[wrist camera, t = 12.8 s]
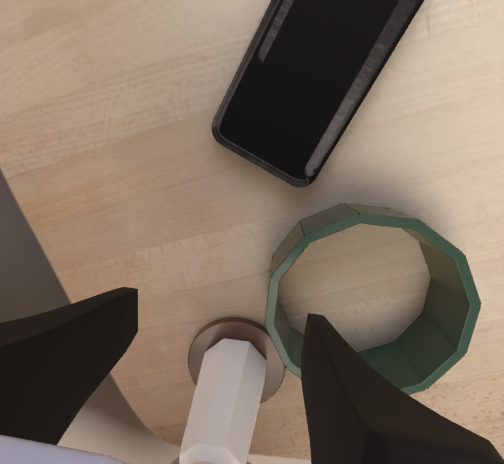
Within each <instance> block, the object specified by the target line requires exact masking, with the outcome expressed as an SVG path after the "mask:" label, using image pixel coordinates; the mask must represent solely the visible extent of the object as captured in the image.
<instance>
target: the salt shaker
mask: <svg viewBox="0 0 504 464" xmlns="http://www.w3.org/2000/svg"><path fill="white" fill-rule="evenodd" d="M266 362H267V360H266V359H265V358H264V357H263V356H262V355H261V354H260V353H259V352H258V350H257V349H256V348H255V347H254V346H253V345H252V344H251V343H250V342H249V341H241V340H233V339H226V338H224V339H222V340H221V341H220V342H218V343H217V344H215V345H214V346H213V347H211V348H210V349H209V350H207V351H206V352H205V354H204V358H203V362H202V366H201V370H200V374H199V377H198V381H197V385H196V389H195V393H194V397H193V401H192V405H191V409H190V413H189V417H188V421H187V425H186V429H185V433H184V437H183V440H182V445H181V451H180V458H179V464H246V462H247V458H248V453H249V449H250V445H251V440H252V436H253V431H254V427H255V422H256V418H257V413H258V409H259V404H260V400H261V395H262V391H263V387H264V381H265V371H266Z"/></svg>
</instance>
